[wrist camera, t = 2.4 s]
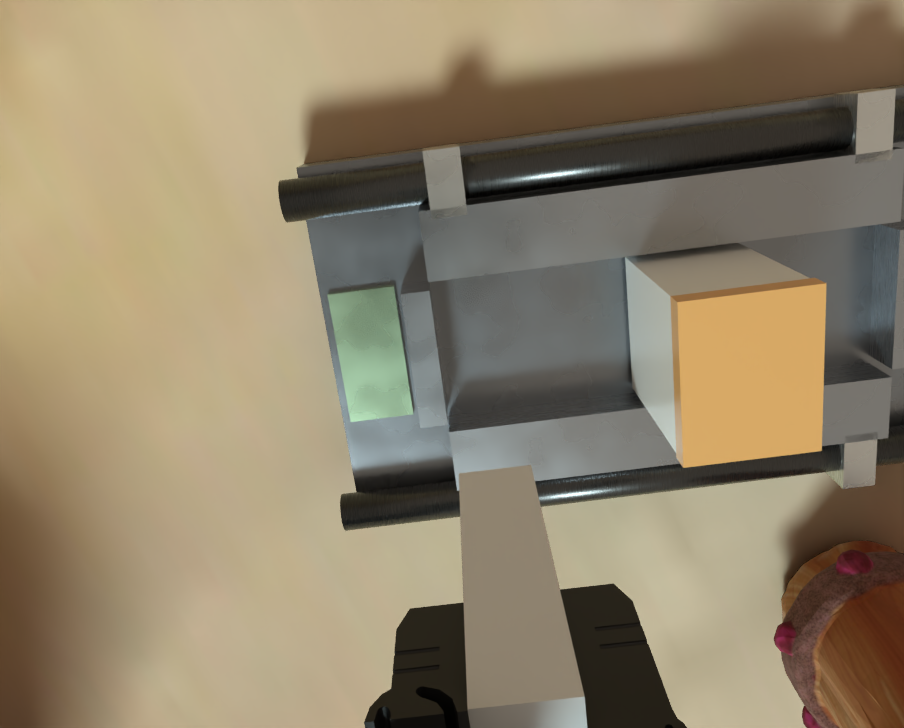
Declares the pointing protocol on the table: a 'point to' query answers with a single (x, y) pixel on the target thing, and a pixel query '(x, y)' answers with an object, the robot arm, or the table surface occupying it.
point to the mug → (847, 637)
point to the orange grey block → (727, 352)
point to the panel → (594, 294)
